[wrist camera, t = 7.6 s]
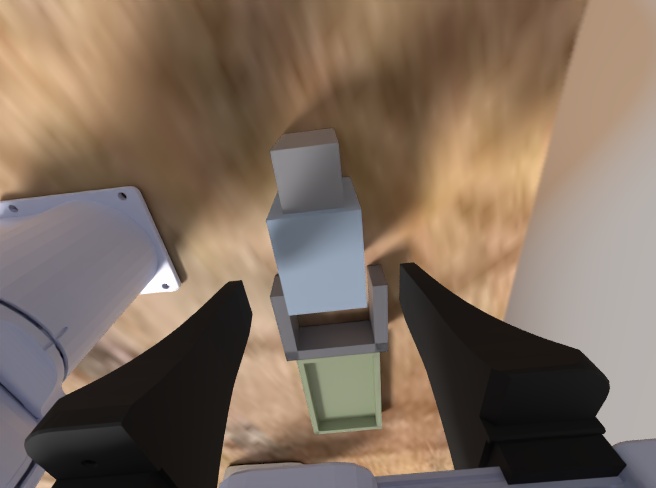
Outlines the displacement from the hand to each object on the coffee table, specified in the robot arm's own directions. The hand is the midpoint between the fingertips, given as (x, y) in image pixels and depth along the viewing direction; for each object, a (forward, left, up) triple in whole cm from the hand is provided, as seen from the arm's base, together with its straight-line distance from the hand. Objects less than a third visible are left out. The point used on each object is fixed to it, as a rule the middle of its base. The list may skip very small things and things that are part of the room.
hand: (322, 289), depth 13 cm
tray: (0, -18, -7) cm, 19 cm away
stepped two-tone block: (0, +1, -8) cm, 8 cm away
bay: (0, -7, -7) cm, 10 cm away
